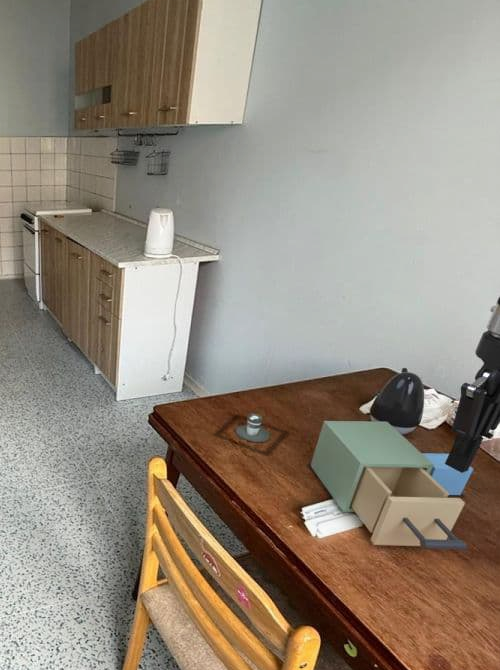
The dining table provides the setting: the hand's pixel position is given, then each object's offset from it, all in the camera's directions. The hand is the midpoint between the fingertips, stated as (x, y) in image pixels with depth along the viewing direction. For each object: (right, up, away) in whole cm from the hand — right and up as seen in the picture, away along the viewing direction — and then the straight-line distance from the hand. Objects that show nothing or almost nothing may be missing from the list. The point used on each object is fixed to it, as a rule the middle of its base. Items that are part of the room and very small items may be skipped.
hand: (456, 467), depth 79 cm
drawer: (-6, -12, +5) cm, 15 cm away
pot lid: (-19, +2, +35) cm, 40 cm away
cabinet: (-6, -7, +17) cm, 19 cm away
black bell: (+15, +3, +36) cm, 39 cm away
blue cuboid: (+10, -7, +17) cm, 21 cm away
